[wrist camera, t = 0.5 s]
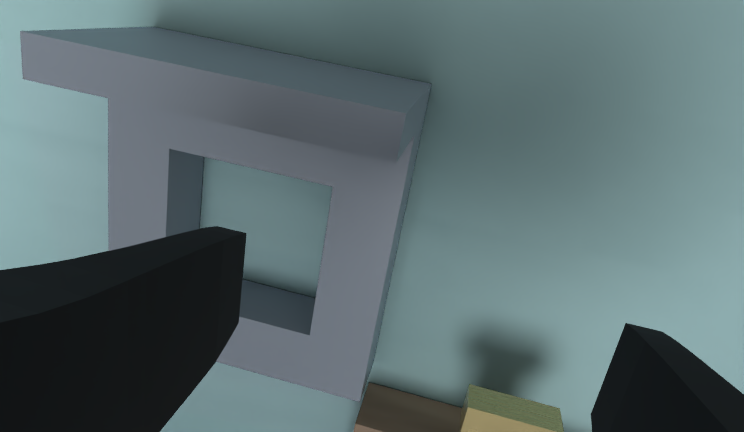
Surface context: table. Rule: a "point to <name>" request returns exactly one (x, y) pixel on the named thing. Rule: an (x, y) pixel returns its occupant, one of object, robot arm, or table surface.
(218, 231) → the robot arm
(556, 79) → the table surface
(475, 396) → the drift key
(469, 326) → the table surface
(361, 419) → the socket block
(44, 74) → the grey square frame
